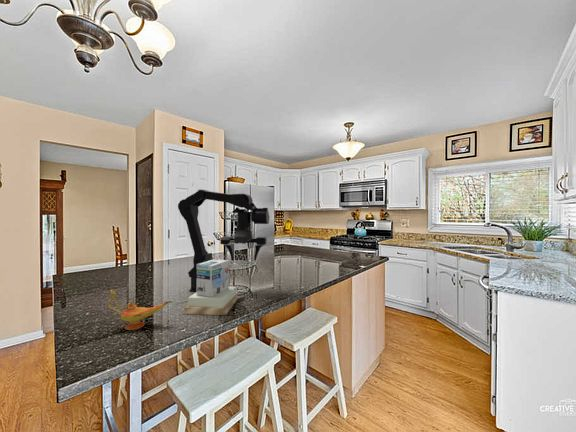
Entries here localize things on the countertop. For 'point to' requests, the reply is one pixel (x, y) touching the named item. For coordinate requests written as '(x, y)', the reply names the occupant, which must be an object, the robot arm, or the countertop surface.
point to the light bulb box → (212, 277)
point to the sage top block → (212, 299)
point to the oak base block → (211, 310)
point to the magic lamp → (135, 313)
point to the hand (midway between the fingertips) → (244, 260)
